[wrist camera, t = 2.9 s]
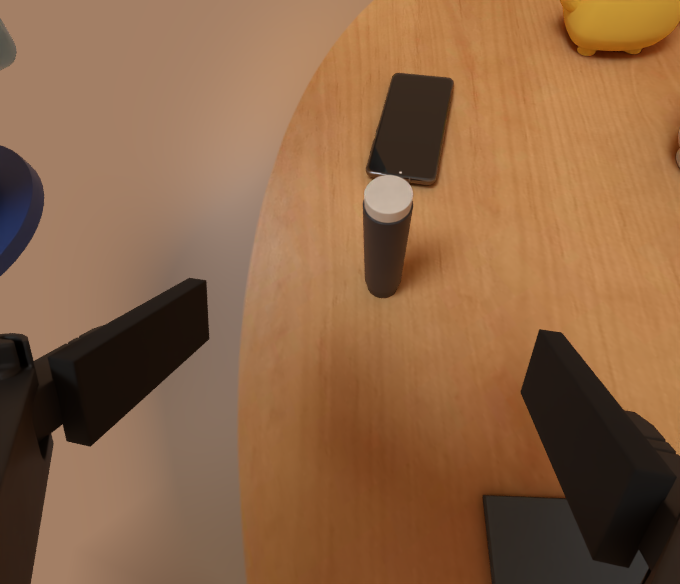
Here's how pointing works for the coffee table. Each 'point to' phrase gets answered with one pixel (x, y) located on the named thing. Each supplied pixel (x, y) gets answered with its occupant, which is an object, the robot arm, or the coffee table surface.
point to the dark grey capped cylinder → (386, 232)
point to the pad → (545, 545)
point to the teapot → (619, 23)
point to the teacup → (679, 153)
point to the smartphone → (411, 128)
